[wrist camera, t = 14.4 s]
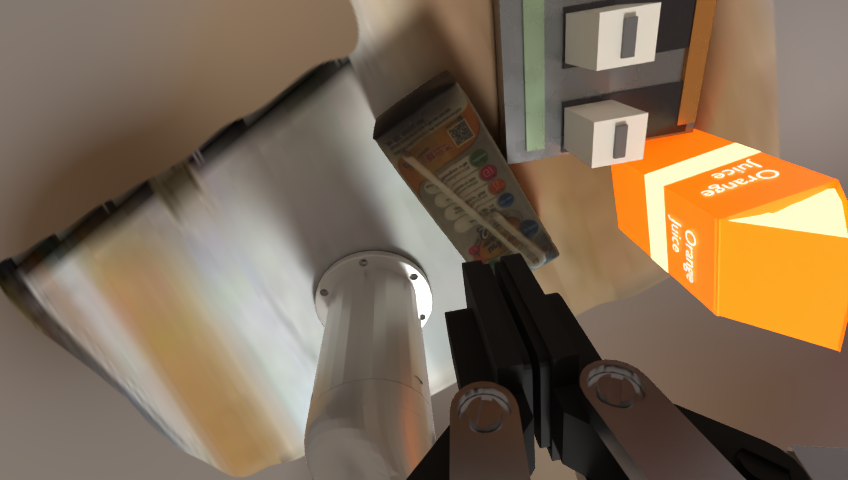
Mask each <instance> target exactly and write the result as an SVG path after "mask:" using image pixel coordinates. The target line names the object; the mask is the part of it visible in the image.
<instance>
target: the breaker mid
mask: <svg viewBox="0 0 848 480" xmlns="http://www.w3.org/2000/svg"><path fill="white" fill-rule="evenodd" d="M660 9H661V2H655V3H637V4H620V5H613V6H607V7H601V8H595V9H589V10H584V11H578V12H572V13H566V35H565V63H566V64H570V65H574V66H578V67H582V68H586V69H590V70H594V71H600V70H605V69H611V68H617V67H623V66H628V65H634V64H640V63H646V62H652V61H654V59H655V51H656V42H657V34H658V26H659V17H660Z"/></svg>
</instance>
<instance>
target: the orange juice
mask: <svg viewBox="0 0 848 480" xmlns="http://www.w3.org/2000/svg"><path fill="white" fill-rule="evenodd" d="M611 169H612V177H613V185H614V193H615V201H616V209H617V217H618V225H619V229H620V230H621V231H623V232H624V233H625V234H626V235H627V236H628V237H629V238H630V239H631V240H633V241H634V242H635V243H636V244H637V245H638V246H639V247H640V248H642V249H643V250H644V251H645V252H646V253H647V254H648V255H649V256H651V258H652V259H653V260H654V261H655V262H656V263H657V264H659V265H660V266H661V267H662V268H663V269H664V270H665V271H666V272H667V273H670V274H671V275H672V276H673V277H674V278H675V279H676V280H677V281H678V282H680V283H681V284H682V285H683V286H684V287H685V288H686V289H687V290H689V291H690V292H691V293H692V294H693V295H694V296H695V297H696V298H698V299H699V300H700V301H701V302H702V303H703V304H704V305H705V306H706V307H708V308H709V309H710V310H711V311H712V312H713V313H714V314H716V315H717V316H719V315H720V316H723V317H727V318H730V319H733V320H737V321H740V322H744V323H747V324H750V325H754V326H757V327H760V328H764V329H767V330H770V331H774V332H777V333H781V334H784V335H787V336H791V337H794V338H797V339H801V340H804V341H807V342H811V343H814V344H817V345H821V346H824V347H828V348H831V349H834V350H838V351H839V352H840V350H841V345H842V342H843V337H844V333H845V329H846V325H847V320H848V201H847V199H846V197H845V195H844V192H843V190H842V188H841V186H840V184H839V181H838V180H837V179H834V178H831V177H828V176H826V175H823V174H820V173H817V172H814V171H812V170H809V169H806V168H803V167H800V166H798V165H795V164H792V163H789V162H786V161H784V160H781V159H778V158H775V157H772V156H770V155H767V154H764V153H761V151H758V150H755V149H752V148H750V147H747V146H744V145H741V144H738V143H733V142H730V141H728V140H725V139H722V138H719V137H716V136H713V135H711V134H708V133H705V132H702V131H699V130H697V129H694V130H693V132H692V133H686V134H681V135H675V136H669V137H663V138H658V139H652V140H647V141H645V146H644V155H643V159H641V160H636V161H630V162H624V163H618V164H613V165H611Z"/></svg>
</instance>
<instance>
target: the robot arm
mask: <svg viewBox="0 0 848 480" xmlns="http://www.w3.org/2000/svg"><path fill="white" fill-rule="evenodd" d="M362 259H365V260H362ZM462 270H463V278H464V286H465V295H466V303H467V309H461V310H455V311H450V312H445V318H446V324H447V331H448V337H449V343H450V348H451V353H452V359H453V364H454V369H455V374H456V379H457V383H458V388H459V391H458V392H457V393H456V395H455V396H454V398H453V400H452V402H451V407H450V425H449V426H448V428H447V429H446V430H445V431H444V433H443V434H442V435H441V436H440V438H439V439H438V440H437V441H436V439H435V431H434V423H433V415H432V406H431V398H430V390H429V382H428V374H427V366H426V358H425V350H424V342H423V334H422V327H423V326H424V325H425V323H426V322H427V320H428V318H429V316H430V313H431V309H432V304H433V303H432V292H431V287H430V284H429V282H428V280H427V277H426V276H425V275H424V273H423V272H422V270H421V269H420V268H419V267H417V266H416V265H415V264H414V263H413V262H411V261H410V260H408V259H406V258H405V257H402V256H400V255H397V254H394V253H390V252H385V251H365V252H358V253H355V254H352V255H348V256H346V257H344V258H342V259H341V260H339V261H337V262H336V263H335V264H333V265H332V266H331V267H329V269H328V270H327V271H326V272H325V273H324V275H323V276H322V278H321V280H320V282H319V284H318V287H317V291H316V297H315V308H316V312H317V315H318V318H319V320H320V322H321V323H322V325H323V326H324V328H325V329H324V334H323V339H322V344H321V350H320V355H319V360H318V365H317V371H316V376H315V381H314V387H313V392H312V397H311V402H310V408H309V413H308V418H307V424H306V430H305V439H304V445H305V456H306V461H307V466H308V469H309V472H310V475H311V477H312V480H531V479H530V476H531V474H532V473H533V471H534V469H535V451H534V435H535V437H536V440H537V443H538V445H539V447H540V448H544V447H547V449H548V451H549V454H550V456H551V459H552V461H554V460H560V459H561V461H562V463H563V464H564V465H566V466H568V467H570V468H571V469H573V470H575V474H576V477H577V479H578V480H848V448H833V447H811V446H790V447H789V449H788V451H782V450H781V449H779V448H778V447H776V446H773V445H771V444H770V443H768V442H766V441H764V440H761V439H759V438H756V437H754V436H751V435H749V434H746V433H744V432H742V431H739V430H737V429H734V428H732V427H729V426H727V425H724V424H722V423H720V422H717V421H715V420H712V419H710V418H707V417H705V416H702V415H700V414H698V413H695V412H693V411H690V410H687V409H685V408H683V407H681V406H678V405H676V404H673V403H672V402H671V401H670V400H669V399H668V398H667V397H666V396H665V395H664V394H663V393H662V391H661V390H660V389H659V388H658V387H656V385H655V384H654V383H653V382H652V381H651V380H650V379H649V378H648V377H647V376H646V375H645V374H644V373H642V372H641V371H640V370H639V369H638V368H636V367H634V366H632V365H630V364H628V363H625V362H621V361H618V360H607V359H605V360H602V359H601V358H600V356H599V354H598V353H597V351H596V350H595V348H594V347H593V345H592V344H591V342H590V340H589V339H588V337H587V336H586V334H585V333H584V331H583V329H582V328H581V326H580V325H579V323H578V322H577V320H576V318H575V317H574V315H573V314H572V312H571V311H570V309H569V308H568V306H567V304H566V303H565V301H564V300H563V298H562V297H561V296H560V294H558V293H552V294H546V295H545V294H544V292H543V291H542V289H541V287H540V285H539V284H538V282H537V280H536V279H535V277H534V275H533V273H532V272H531V270H530V268H529V267H528V265H527V263H526V261H525V260H524V258H523V256H522V255H521V253H516V254H511V255H505V256H501V257H500V262H495V263H494V271H495V275H494V273H493V271H492V268H491V266H490V264H489V263H488V264H483V263H482V261H481V260H477V261H471V262H465V263H462ZM413 273H414V274H413Z"/></svg>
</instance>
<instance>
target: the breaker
mask: <svg viewBox="0 0 848 480" xmlns="http://www.w3.org/2000/svg"><path fill="white" fill-rule="evenodd" d="M647 122H648V113H647V112H645V111H642V110H639V109H636V108H633V107H631V106H628V105H625V104H622V103H619V102H617V101H614V100H606V101H600V102H594V103H588V104H583V105H577V106H571V107H565V108H564V149H566V150H567V151H569V152H570V153H571V154H573V155H574V156H575V157H577V158H578V159H580V160H581V161H582V162H584V163H585V164H587V165H588V166H589V167H591V168H596V167H601V166H607V165H613V164H618V163H624V162H630V161H636V160H641V159H643V155H644V146H645V138H646V130H647Z"/></svg>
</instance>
